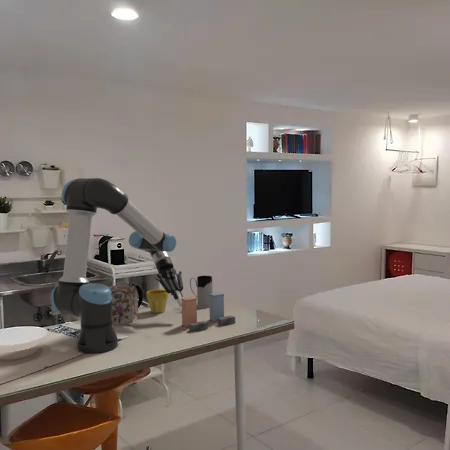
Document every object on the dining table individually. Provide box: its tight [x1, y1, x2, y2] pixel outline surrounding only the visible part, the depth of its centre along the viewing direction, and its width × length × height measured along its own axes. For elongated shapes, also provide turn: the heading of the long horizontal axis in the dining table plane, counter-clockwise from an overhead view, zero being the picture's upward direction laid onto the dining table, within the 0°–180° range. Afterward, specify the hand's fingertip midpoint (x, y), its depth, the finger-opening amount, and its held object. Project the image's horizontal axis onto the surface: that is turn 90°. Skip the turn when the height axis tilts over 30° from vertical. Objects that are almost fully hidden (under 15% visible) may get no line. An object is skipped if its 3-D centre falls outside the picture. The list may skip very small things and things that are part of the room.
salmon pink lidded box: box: [181, 296, 198, 328], centre depth 202 cm, size 5×4×12 cm
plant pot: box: [146, 289, 169, 314], centre depth 232 cm, size 10×10×10 cm
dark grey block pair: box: [189, 315, 236, 333], centre depth 205 cm, size 26×14×4 cm, turn 125°
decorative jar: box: [109, 281, 139, 326], centre depth 214 cm, size 12×12×18 cm
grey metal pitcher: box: [189, 275, 214, 309], centre depth 242 cm, size 9×14×15 cm, turn 53°
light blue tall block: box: [209, 291, 225, 322], centre depth 210 cm, size 5×4×12 cm
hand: (181, 304), depth 209 cm, fingers closed
